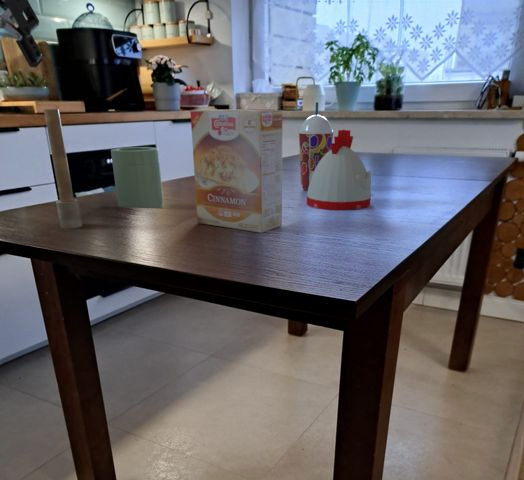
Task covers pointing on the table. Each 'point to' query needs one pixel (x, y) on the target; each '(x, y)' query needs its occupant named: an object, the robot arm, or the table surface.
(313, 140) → the smoothie
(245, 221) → the coffeecake box
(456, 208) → the table surface
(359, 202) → the kitchen timer
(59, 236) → the table surface
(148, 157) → the green canister
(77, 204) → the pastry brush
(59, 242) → the table surface
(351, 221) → the table surface
